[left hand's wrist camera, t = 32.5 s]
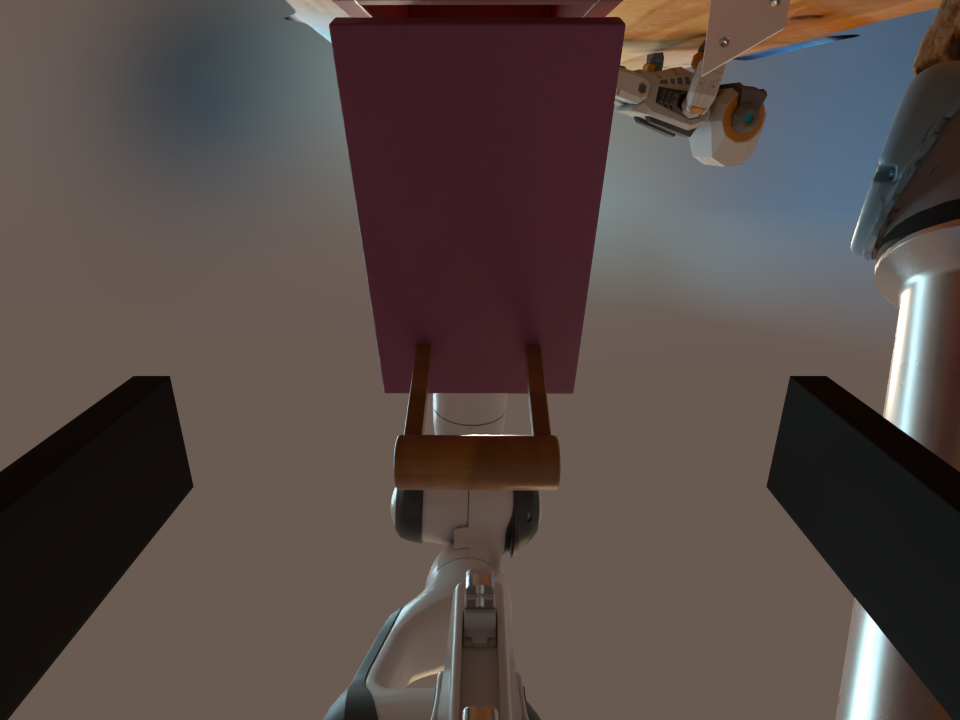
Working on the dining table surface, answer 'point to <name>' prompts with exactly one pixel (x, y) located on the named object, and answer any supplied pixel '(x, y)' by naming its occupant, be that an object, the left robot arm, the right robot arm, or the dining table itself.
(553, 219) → the lid
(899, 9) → the dining table surface
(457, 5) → the chest
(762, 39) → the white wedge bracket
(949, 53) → the decorative rock
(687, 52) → the dining table surface
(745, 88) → the robot
